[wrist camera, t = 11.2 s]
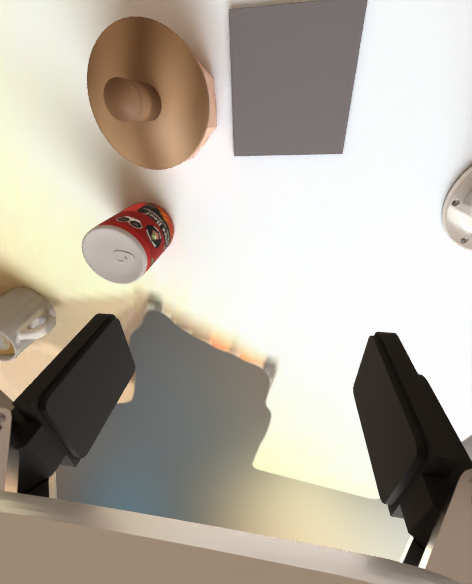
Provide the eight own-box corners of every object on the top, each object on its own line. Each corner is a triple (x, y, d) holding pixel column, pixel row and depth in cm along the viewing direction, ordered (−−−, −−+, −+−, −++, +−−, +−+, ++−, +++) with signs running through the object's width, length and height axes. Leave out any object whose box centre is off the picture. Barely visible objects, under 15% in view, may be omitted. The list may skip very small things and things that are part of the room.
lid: (203, 14, 23) (180, -15, 18) (214, 167, 29) (199, 177, 24) (76, 26, 25) (22, 3, 19) (113, 168, 31) (80, 179, 26)
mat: (366, -2, 25) (367, -5, 25) (341, 153, 32) (342, 153, 32) (230, 11, 27) (228, 9, 26) (234, 155, 34) (234, 156, 33)
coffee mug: (16, 320, 58) (-28, 354, 50) (1, 282, 52) (-52, 313, 44) (75, 333, 57) (41, 370, 49) (66, 296, 52) (25, 330, 43)
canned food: (183, 242, 42) (156, 277, 33) (140, 254, 44) (104, 290, 35) (161, 194, 38) (123, 218, 29) (116, 209, 40) (68, 236, 31)
